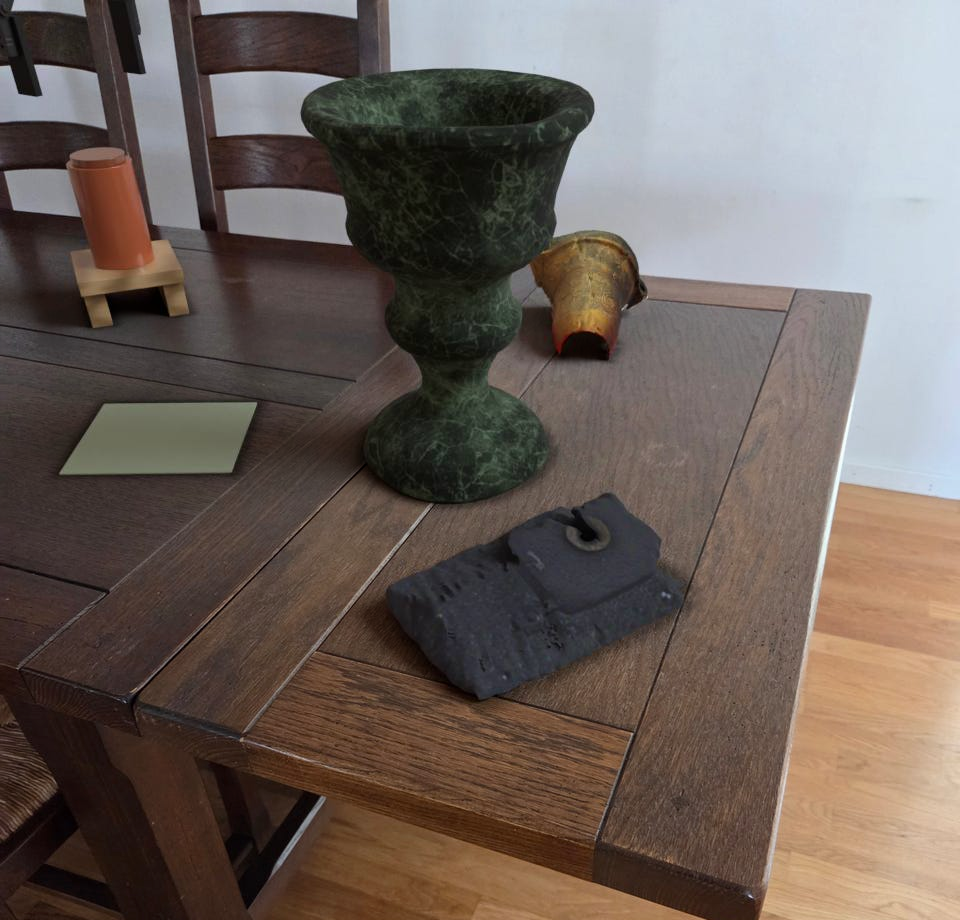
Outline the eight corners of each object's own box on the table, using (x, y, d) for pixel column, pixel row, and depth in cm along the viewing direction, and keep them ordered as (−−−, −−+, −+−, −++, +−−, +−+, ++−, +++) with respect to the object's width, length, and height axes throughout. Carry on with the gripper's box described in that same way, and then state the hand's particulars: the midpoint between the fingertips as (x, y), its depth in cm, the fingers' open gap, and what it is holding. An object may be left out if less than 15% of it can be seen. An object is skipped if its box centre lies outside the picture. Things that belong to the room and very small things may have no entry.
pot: (521, 287, 94) (537, 184, 103) (489, 363, 103) (506, 262, 112) (669, 339, 97) (672, 234, 106) (625, 407, 107) (631, 306, 116)
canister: (86, 270, 107) (54, 162, 99) (104, 250, 112) (75, 146, 104) (146, 270, 107) (119, 161, 99) (161, 249, 112) (137, 145, 104)
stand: (92, 333, 107) (77, 283, 103) (84, 299, 116) (70, 251, 112) (192, 318, 111) (181, 268, 107) (178, 285, 119) (167, 239, 115)
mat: (60, 477, 83) (58, 473, 82) (105, 407, 93) (104, 403, 93) (231, 475, 83) (231, 471, 83) (257, 405, 93) (257, 402, 93)
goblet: (301, 492, 81) (241, 116, 61) (395, 385, 97) (372, 60, 77) (534, 535, 75) (552, 140, 55) (593, 415, 91) (624, 74, 71)
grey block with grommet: (359, 601, 69) (354, 551, 66) (577, 510, 78) (581, 462, 75) (472, 718, 60) (471, 667, 56) (704, 599, 69) (715, 549, 66)
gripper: (-91, -202, 69) (6, 109, 83) (150, -192, 85) (197, 68, 99) (-147, -200, 72) (-44, 101, 86) (96, -191, 88) (149, 61, 102)
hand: (85, 83), depth 93 cm, fingers open, 13 cm apart
